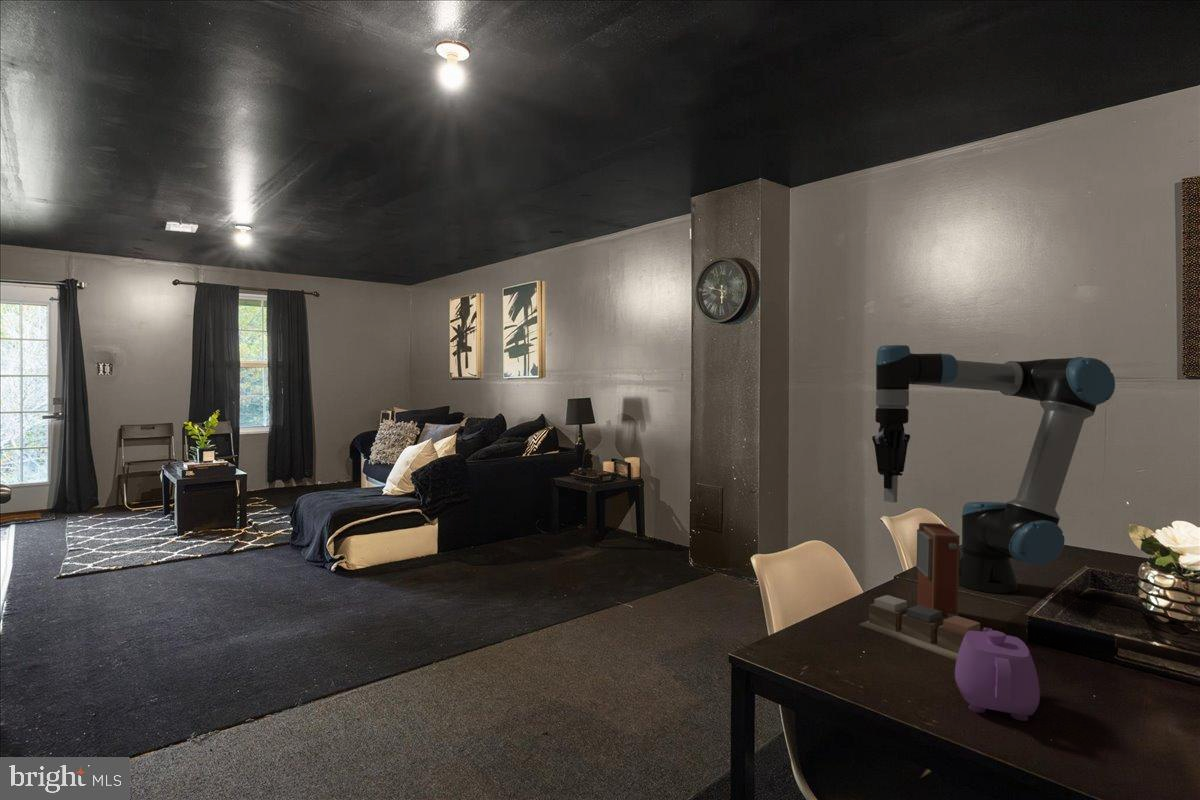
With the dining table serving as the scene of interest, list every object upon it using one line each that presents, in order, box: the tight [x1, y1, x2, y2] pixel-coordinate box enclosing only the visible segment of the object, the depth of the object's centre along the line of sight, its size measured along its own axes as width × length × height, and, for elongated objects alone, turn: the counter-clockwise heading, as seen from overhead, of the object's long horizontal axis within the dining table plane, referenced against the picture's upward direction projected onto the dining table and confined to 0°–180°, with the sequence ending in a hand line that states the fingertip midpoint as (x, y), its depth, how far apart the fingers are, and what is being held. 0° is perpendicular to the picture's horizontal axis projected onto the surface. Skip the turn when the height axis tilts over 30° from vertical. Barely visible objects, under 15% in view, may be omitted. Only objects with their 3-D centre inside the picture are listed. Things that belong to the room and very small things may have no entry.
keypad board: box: [858, 603, 984, 661], centre depth 141 cm, size 12×24×4 cm, turn 34°
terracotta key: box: [943, 615, 981, 635], centre depth 135 cm, size 5×5×4 cm
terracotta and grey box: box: [915, 522, 961, 619], centre depth 153 cm, size 21×7×15 cm
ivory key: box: [873, 594, 908, 612], centre depth 148 cm, size 5×5×4 cm
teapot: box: [954, 627, 1041, 722], centre depth 112 cm, size 20×12×13 cm, turn 156°
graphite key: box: [907, 605, 942, 624], centre depth 141 cm, size 5×5×4 cm
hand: (890, 501), depth 161 cm, fingers closed
